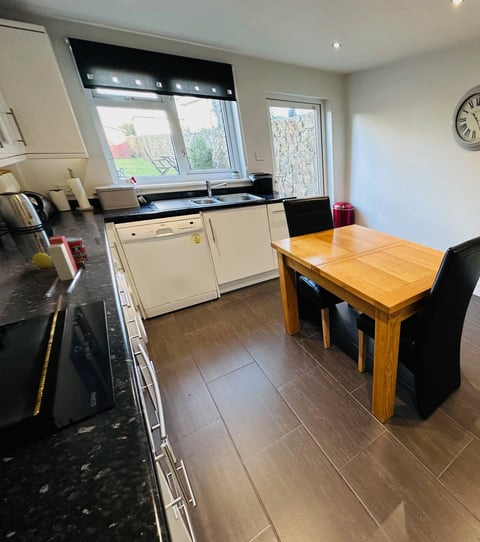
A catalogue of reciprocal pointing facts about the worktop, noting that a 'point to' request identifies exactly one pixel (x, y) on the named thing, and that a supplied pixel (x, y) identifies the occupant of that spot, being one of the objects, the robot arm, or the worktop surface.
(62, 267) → the block
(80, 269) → the score rail
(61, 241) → the marker red
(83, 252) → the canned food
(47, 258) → the lemon
